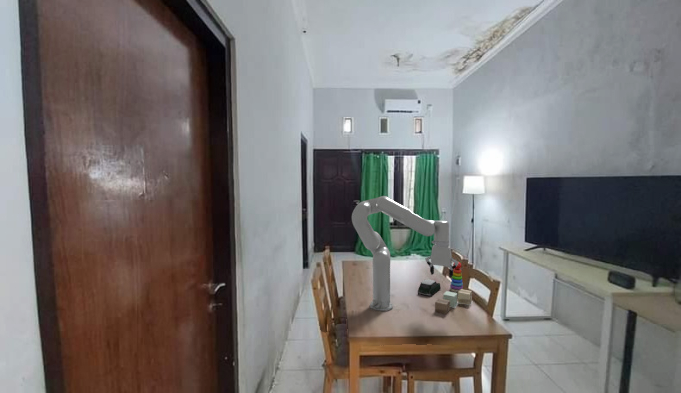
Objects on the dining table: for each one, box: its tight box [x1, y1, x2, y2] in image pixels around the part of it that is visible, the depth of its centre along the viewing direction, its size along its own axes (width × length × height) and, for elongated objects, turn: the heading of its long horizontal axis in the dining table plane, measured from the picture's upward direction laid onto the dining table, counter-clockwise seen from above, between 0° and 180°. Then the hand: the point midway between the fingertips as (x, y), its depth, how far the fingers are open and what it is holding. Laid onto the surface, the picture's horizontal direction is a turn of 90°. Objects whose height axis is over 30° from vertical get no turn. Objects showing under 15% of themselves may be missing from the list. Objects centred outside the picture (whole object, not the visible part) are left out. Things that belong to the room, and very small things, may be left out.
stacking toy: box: [449, 261, 464, 293], centre depth 192 cm, size 8×8×19 cm
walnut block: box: [434, 297, 451, 315], centre depth 162 cm, size 6×6×6 cm
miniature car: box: [417, 278, 442, 297], centre depth 191 cm, size 9×18×8 cm, turn 142°
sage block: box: [442, 290, 458, 308], centre depth 171 cm, size 6×6×6 cm
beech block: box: [457, 289, 473, 306], centre depth 174 cm, size 6×6×6 cm
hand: (441, 275), depth 164 cm, fingers open, 9 cm apart
